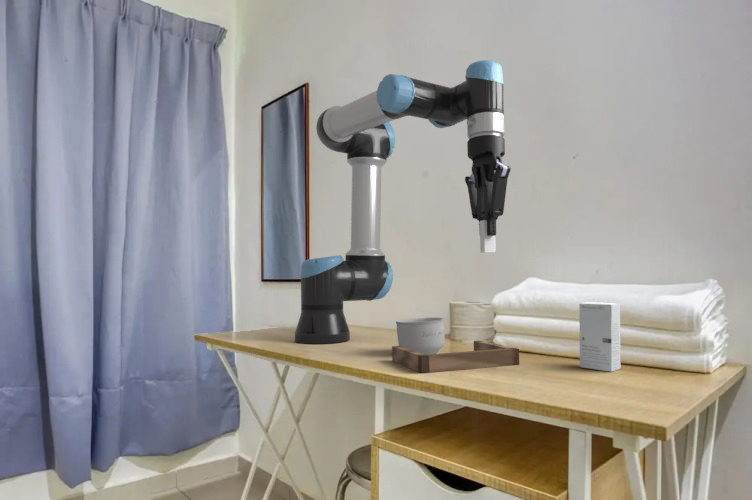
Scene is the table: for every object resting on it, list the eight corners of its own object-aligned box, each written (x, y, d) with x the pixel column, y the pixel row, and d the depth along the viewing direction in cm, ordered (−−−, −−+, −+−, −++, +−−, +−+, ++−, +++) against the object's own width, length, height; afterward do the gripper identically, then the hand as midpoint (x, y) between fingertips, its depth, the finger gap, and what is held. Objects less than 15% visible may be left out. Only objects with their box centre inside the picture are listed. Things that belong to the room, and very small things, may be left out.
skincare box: (579, 368, 91) (576, 302, 91) (589, 364, 94) (587, 301, 94) (613, 372, 86) (610, 303, 87) (623, 369, 89) (620, 302, 90)
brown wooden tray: (392, 361, 101) (392, 346, 101) (479, 354, 108) (479, 340, 108) (422, 373, 88) (421, 356, 88) (519, 364, 95) (518, 348, 95)
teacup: (428, 360, 102) (428, 321, 102) (386, 355, 108) (386, 319, 109) (460, 351, 113) (459, 316, 113) (420, 347, 119) (419, 314, 120)
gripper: (453, 144, 105) (455, 253, 104) (488, 127, 93) (491, 250, 92) (483, 147, 108) (485, 253, 107) (521, 131, 96) (524, 251, 95)
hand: (488, 252), depth 99 cm, fingers closed
